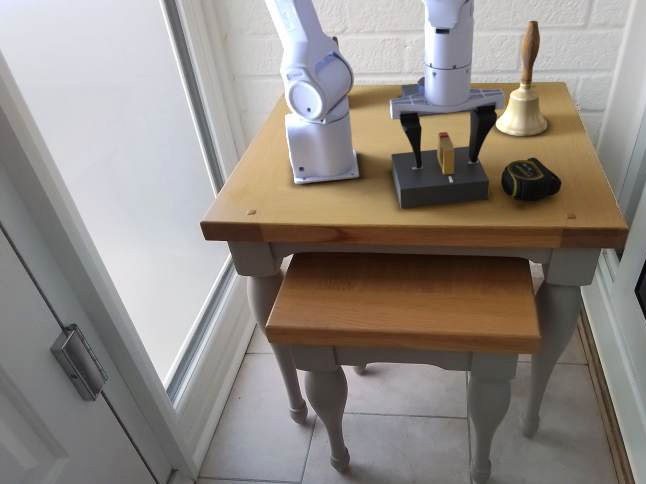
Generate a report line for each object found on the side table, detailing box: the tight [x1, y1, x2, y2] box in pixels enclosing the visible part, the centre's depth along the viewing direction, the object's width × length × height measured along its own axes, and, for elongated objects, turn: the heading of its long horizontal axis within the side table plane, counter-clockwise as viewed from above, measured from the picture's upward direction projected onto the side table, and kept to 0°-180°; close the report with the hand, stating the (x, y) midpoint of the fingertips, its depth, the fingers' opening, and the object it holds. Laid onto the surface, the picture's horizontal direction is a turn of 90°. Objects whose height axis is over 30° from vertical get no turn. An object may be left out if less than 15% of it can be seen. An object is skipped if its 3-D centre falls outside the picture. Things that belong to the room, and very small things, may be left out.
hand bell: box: [495, 20, 548, 137], centre depth 84 cm, size 8×8×16 cm
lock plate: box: [391, 145, 490, 209], centre depth 75 cm, size 12×10×3 cm
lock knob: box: [436, 131, 455, 175], centre depth 73 cm, size 5×1×4 cm, turn 5°
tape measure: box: [500, 156, 562, 203], centre depth 72 cm, size 7×7×4 cm
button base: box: [400, 76, 470, 117], centre depth 96 cm, size 12×9×4 cm
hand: (445, 162), depth 74 cm, fingers open, 7 cm apart
